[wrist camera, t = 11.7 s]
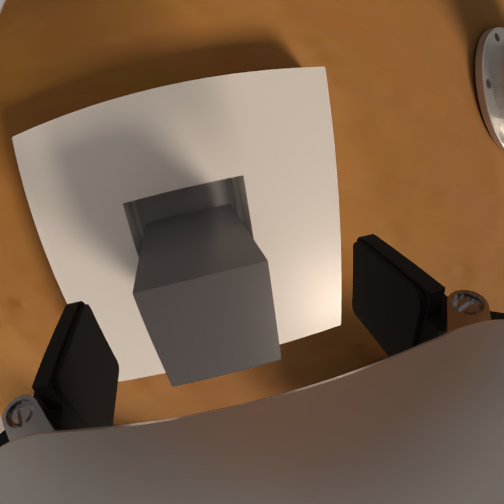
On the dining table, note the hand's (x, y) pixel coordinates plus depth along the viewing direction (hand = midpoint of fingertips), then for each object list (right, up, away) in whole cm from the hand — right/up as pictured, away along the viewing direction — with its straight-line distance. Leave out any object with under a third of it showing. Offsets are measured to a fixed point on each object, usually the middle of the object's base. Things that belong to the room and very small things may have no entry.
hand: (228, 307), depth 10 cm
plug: (-2, +2, +7) cm, 8 cm away
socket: (-3, +3, +8) cm, 9 cm away
